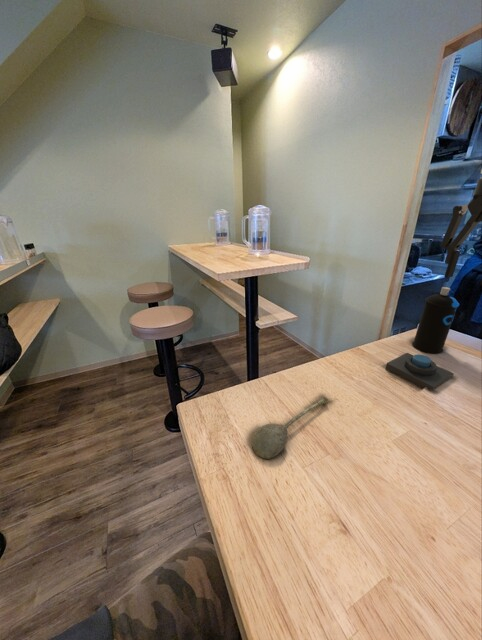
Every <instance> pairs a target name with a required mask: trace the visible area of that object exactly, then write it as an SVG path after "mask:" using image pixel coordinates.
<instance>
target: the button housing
mask: <svg viewBox="0 0 482 640" xmlns="http://www.w3.org/2000/svg"><path fill="white" fill-rule="evenodd" d="M414 355H415V354H411V353H409V352H405V353H404V354H402V355H400V356H398V357H396V358H393V359H392V360H390V361H388V362H386V364H385V368H384V369H385V370H386V371H388V372H390V373H391V374H392V375H395V376H397V377H399V378H401V379H403V380H404V381H406V382H408V383H410V384H411V385H413V386H416V387H417V388H419V389H421V390H424V389H427V390H429V391H432V392H433V391H435V390H436V389H437V388H439V387H441V386H442V385H443V384H445V383H446V382H448V381H449V380H451V379H452V378H453V377H454V375H455V373H454V372H452V371H450V370H447V369H445V368H442V367H440V366H438V365H437V364H436V363H435V361H433V360H432V359H431V363H430V366H429V367H428V368H424V367H419V366H417V365H415V364H413V363H412V359H413V356H414Z"/></svg>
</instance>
